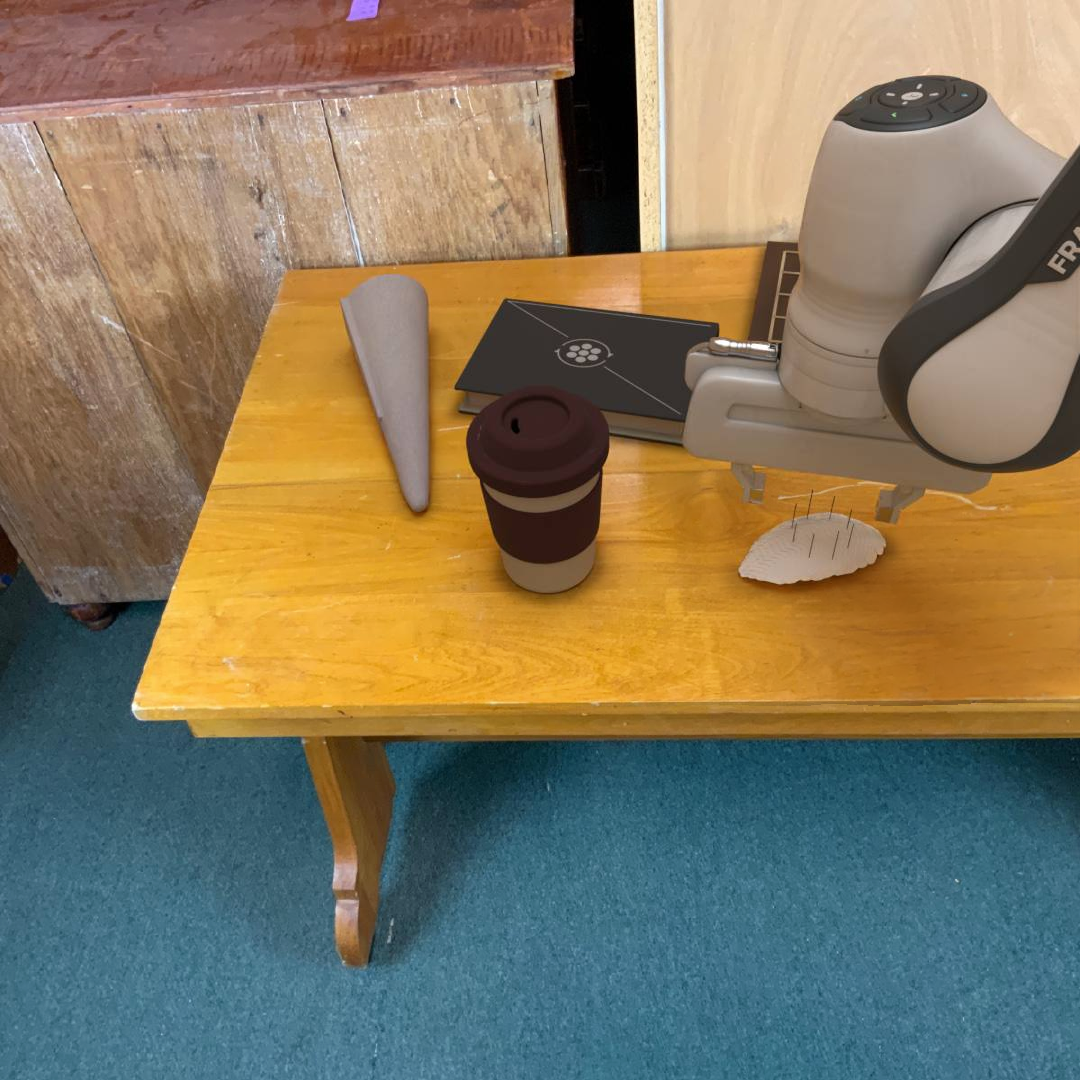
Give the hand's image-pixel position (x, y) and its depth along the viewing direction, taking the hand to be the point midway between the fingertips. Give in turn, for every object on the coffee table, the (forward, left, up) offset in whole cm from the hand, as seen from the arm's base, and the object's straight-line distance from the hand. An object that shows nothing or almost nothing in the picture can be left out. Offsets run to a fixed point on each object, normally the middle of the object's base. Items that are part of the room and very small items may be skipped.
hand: (817, 507), depth 70 cm
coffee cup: (+20, +4, -6) cm, 21 cm away
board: (-2, -34, -6) cm, 35 cm away
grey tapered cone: (+36, -11, -6) cm, 38 cm away
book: (+21, -19, -6) cm, 29 cm away
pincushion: (0, 0, -6) cm, 6 cm away
